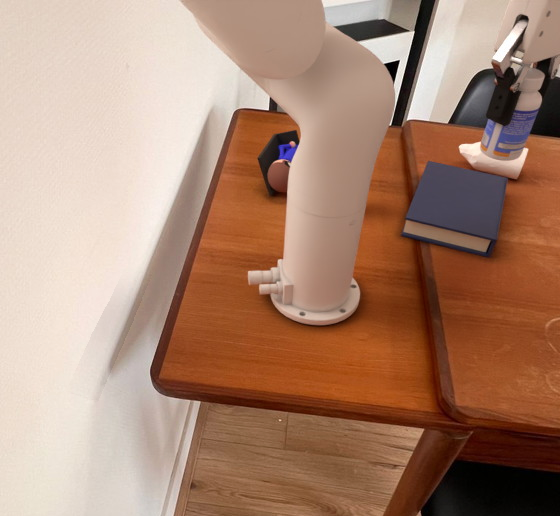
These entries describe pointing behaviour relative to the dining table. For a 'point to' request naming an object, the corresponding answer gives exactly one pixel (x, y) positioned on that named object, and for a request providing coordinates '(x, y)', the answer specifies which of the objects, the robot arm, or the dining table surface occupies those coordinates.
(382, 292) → the dining table surface
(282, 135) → the character figurine
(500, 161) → the roll
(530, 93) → the pill bottle
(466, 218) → the book
